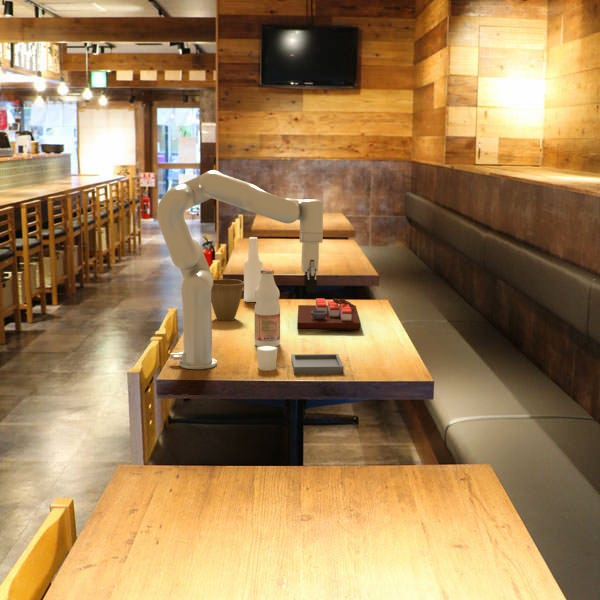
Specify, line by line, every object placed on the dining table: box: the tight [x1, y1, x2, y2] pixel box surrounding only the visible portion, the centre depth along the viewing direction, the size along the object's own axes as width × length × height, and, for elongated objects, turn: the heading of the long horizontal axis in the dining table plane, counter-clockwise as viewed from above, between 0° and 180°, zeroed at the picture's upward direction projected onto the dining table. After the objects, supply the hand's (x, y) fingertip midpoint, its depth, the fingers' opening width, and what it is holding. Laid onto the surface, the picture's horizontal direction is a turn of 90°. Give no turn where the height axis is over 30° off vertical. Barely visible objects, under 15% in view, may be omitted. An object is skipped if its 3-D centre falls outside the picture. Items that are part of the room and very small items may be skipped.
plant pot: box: [211, 278, 244, 322], centre depth 349 cm, size 15×15×16 cm
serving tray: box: [290, 353, 345, 376], centre depth 277 cm, size 16×16×2 cm
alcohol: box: [243, 236, 264, 303], centre depth 385 cm, size 9×9×30 cm
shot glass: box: [256, 346, 278, 372], centre depth 275 cm, size 7×7×7 cm
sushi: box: [296, 297, 362, 331], centre depth 342 cm, size 25×35×12 cm
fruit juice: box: [254, 268, 281, 347], centre depth 305 cm, size 9×9×28 cm
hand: (310, 289), depth 275 cm, fingers open, 9 cm apart
